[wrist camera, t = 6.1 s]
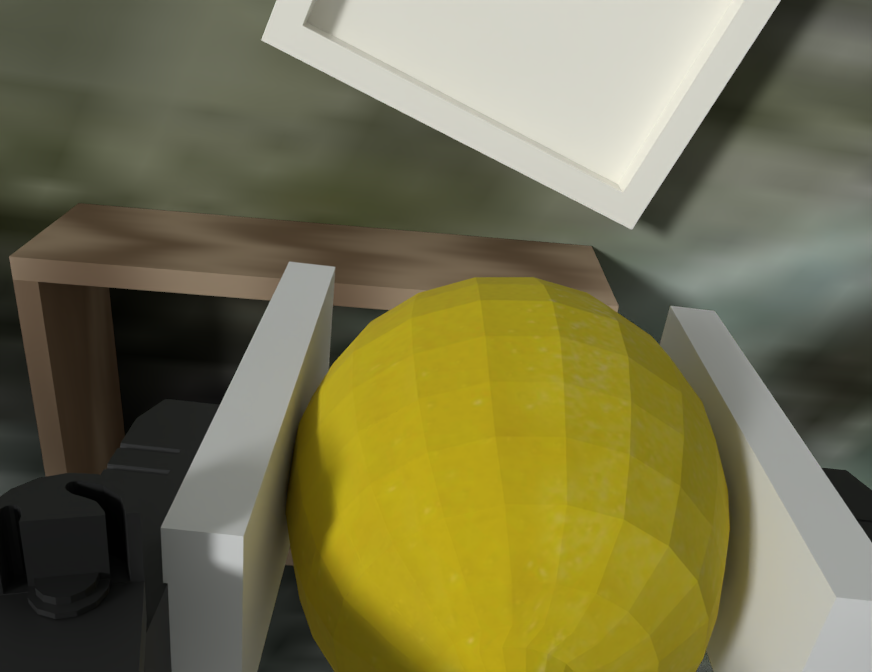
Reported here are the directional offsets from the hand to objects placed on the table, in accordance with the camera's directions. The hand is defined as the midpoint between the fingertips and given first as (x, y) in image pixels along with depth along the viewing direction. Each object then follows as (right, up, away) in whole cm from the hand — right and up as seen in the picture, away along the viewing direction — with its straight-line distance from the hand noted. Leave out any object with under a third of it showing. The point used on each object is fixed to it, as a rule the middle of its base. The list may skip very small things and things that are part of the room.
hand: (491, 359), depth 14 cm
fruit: (0, 0, 0) cm, 1 cm away
